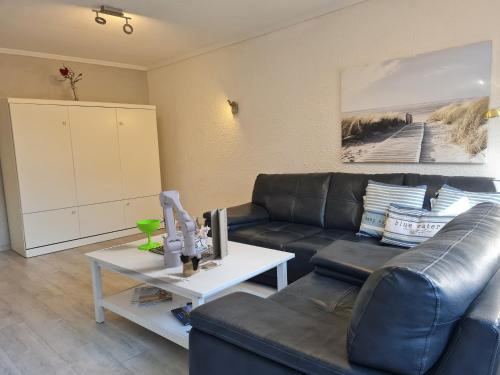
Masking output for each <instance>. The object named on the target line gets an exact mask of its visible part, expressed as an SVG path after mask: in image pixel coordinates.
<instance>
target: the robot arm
mask: <svg viewBox="0 0 500 375" xmlns="http://www.w3.org/2000/svg"><path fill="white" fill-rule="evenodd" d="M158 199H159V204H160V207H162V209H163V216H164V222H165V228H166V235H167V236H166V237H164V239H163V240H162V241H163V245H162V247H163V248H162V249H163V251H164V254H163V268H165V269H169V268H178V267H180V266H181V265H182V264H185V263H188V262H191V261H192V265H193V271H196V270H197V268H198V264H199V263H200V262H201V259H202V254H201V253H199V252H197V251H196V238H195V236H196V235H195V234H196V233H195V232H196V230H197V222H196V221H195V220H193V219H192V218H191V217H190V216H189V213H188V212H187V210H184V209H183V208H184V207H183V206H182V203H181V202H180V192H179V190H178V189H175V190H167V191H166V190H165V191H160V193H159V196H158ZM173 209H174V210H175V212H176V218H177V220H178V221H179V224H180V226H181V227H180V229H181V233H182V236H183V241H182V236H179V235H177V230H176V226H175V225H176V224H175V219H174V212H173ZM183 248H184V249H183ZM190 257H191V258H190ZM181 262H182V263H181ZM199 265H200V264H199Z"/></svg>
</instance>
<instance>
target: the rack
mask: <svg viewBox="0 0 500 375" xmlns="http://www.w3.org/2000/svg"><path fill="white" fill-rule="evenodd" d="M206 262H207V263H206ZM211 262H212V261H209V262H208V260H204V261H200V262H199V268H202V266H204V265H206V264H209V263H211ZM203 263H205V264H203ZM201 264H202V265H201ZM219 266H222V264H217V265H216V266H214V267H211V268H209V269H206V270H204V271H205V272H207V271H209V270H212V269H215V268H217V267H219Z"/></svg>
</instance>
